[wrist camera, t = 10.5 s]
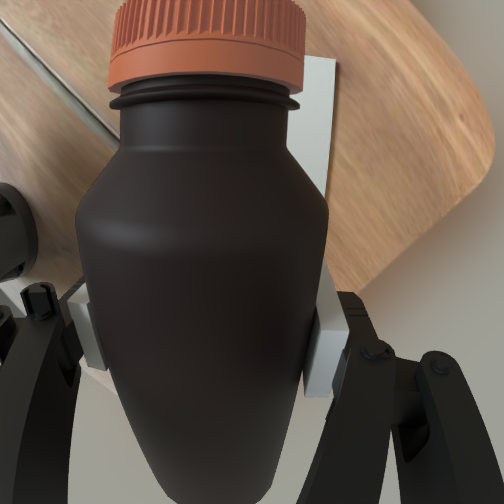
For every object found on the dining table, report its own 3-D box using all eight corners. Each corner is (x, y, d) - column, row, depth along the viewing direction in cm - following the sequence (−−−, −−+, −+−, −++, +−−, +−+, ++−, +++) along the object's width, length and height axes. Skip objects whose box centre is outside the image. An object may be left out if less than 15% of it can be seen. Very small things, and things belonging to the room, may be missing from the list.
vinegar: (141, 441, 15) (80, 46, 7) (238, 410, 18) (256, 54, 10) (184, 533, 10) (83, -62, 2) (297, 486, 13) (401, 24, 5)
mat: (185, 279, 36) (184, 281, 36) (187, 53, 26) (186, 52, 26) (310, 289, 36) (310, 291, 35) (334, 60, 25) (335, 59, 25)
